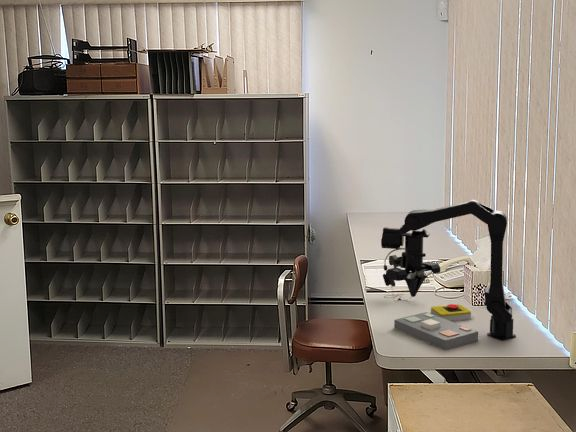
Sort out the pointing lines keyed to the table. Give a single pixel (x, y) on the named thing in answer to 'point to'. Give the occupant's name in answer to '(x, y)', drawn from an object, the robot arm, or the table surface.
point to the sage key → (413, 319)
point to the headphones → (388, 280)
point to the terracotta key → (448, 333)
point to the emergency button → (452, 312)
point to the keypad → (437, 331)
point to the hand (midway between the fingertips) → (413, 296)
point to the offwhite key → (430, 324)
